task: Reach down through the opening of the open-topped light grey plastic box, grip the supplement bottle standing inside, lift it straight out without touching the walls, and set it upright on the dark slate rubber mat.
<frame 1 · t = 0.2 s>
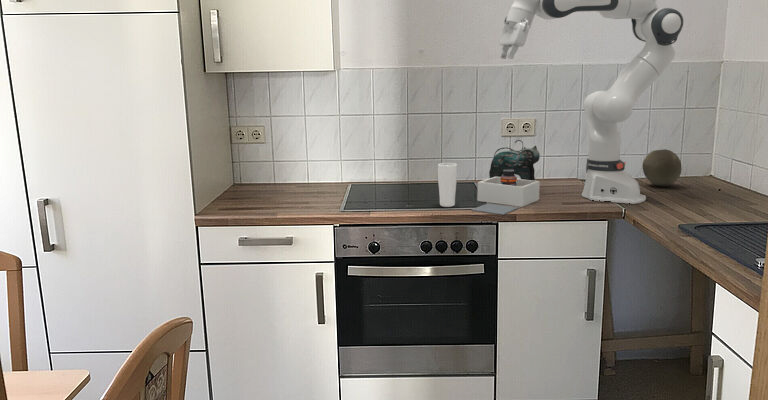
hand: (506, 58, 220), 51 cm above the worktop, tool tilted 20°, fingers open, 8 cm apart
ceramic cat: (512, 189, 249), on the worktop
drinking glass: (447, 206, 221), on the worktop
supplement bottle: (508, 200, 229), resting in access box
cantaloupe: (660, 187, 249), on the worktop
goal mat: (495, 209, 214), on the worktop
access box: (508, 200, 228), on the worktop
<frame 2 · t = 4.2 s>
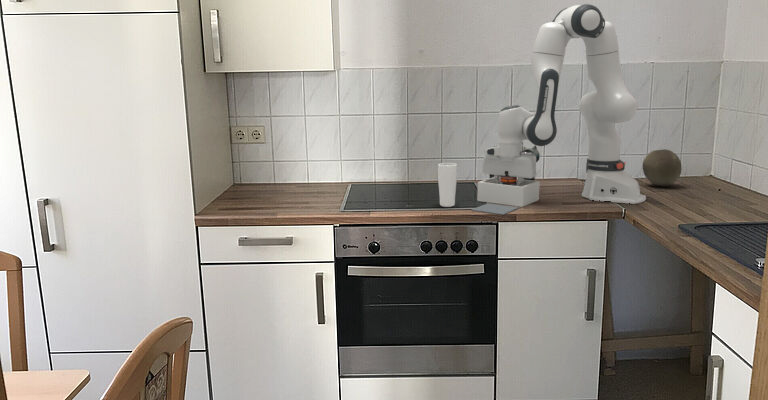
hand: (508, 188, 227), 5 cm above the worktop, tool pointing down, fingers closed on supplement bottle, 6 cm apart
supplement bottle: (508, 200, 228), resting in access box, touching gripper
everything else where it was.
when the fingers open (6 cm above the worktop, at t = 11.5 s): supplement bottle moves 1 cm, resting on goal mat.
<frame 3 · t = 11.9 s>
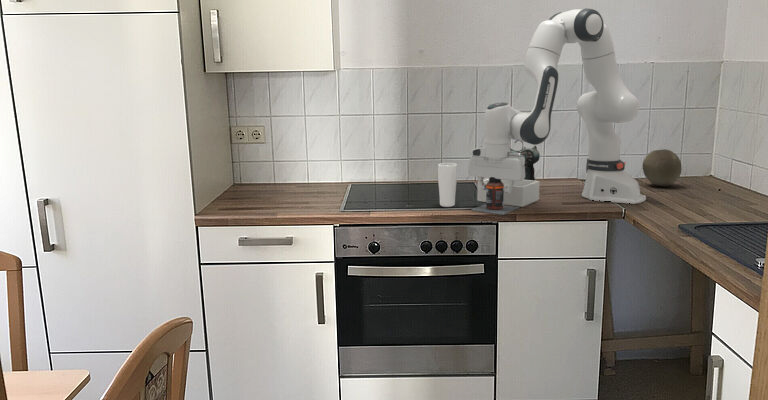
hand: (495, 191, 213), 6 cm above the worktop, tool pointing down, fingers open, 8 cm apart
supplement bottle: (494, 208, 214), resting on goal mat
everything else where it was.
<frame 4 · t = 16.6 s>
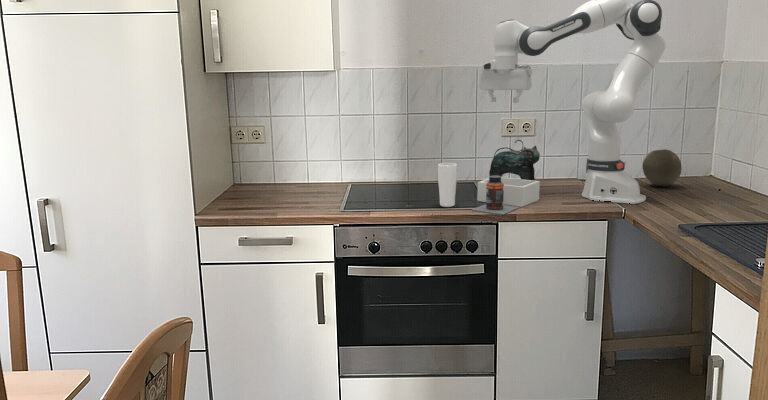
hand: (504, 102, 234), 35 cm above the worktop, tool pointing down, fingers open, 8 cm apart
nothing on the worktop moved.
at the end: supplement bottle inside the target area on the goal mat (0.3 cm from its centre), point 0.2 cm above the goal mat's base; supplement bottle tilted 0°; the gripper is holding nothing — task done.
